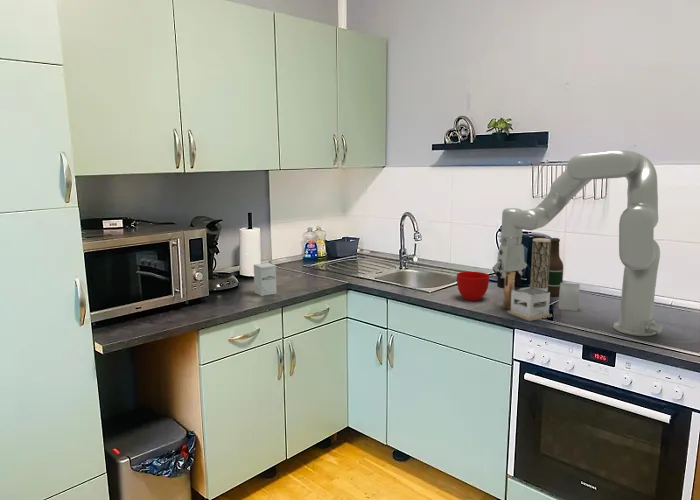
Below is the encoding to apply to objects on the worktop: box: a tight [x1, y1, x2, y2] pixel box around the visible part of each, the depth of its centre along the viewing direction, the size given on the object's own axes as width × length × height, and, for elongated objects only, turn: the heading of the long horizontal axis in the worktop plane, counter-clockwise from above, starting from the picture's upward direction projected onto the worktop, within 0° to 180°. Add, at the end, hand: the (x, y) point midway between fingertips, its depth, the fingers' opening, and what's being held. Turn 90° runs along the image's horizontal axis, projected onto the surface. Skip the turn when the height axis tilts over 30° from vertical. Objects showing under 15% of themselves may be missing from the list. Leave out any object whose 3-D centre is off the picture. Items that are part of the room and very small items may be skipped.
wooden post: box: [502, 271, 516, 310], centre depth 199 cm, size 4×4×18 cm
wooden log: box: [529, 237, 552, 292], centre depth 208 cm, size 7×7×25 cm
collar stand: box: [506, 286, 553, 322], centre depth 190 cm, size 11×11×9 cm
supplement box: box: [253, 262, 278, 297], centre depth 222 cm, size 7×7×13 cm
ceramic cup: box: [456, 271, 490, 302], centre depth 214 cm, size 13×17×10 cm
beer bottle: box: [548, 237, 564, 298], centre depth 217 cm, size 8×8×24 cm
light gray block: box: [558, 282, 581, 312], centre depth 198 cm, size 4×7×10 cm, turn 71°
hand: (509, 286), depth 199 cm, fingers open, 7 cm apart
